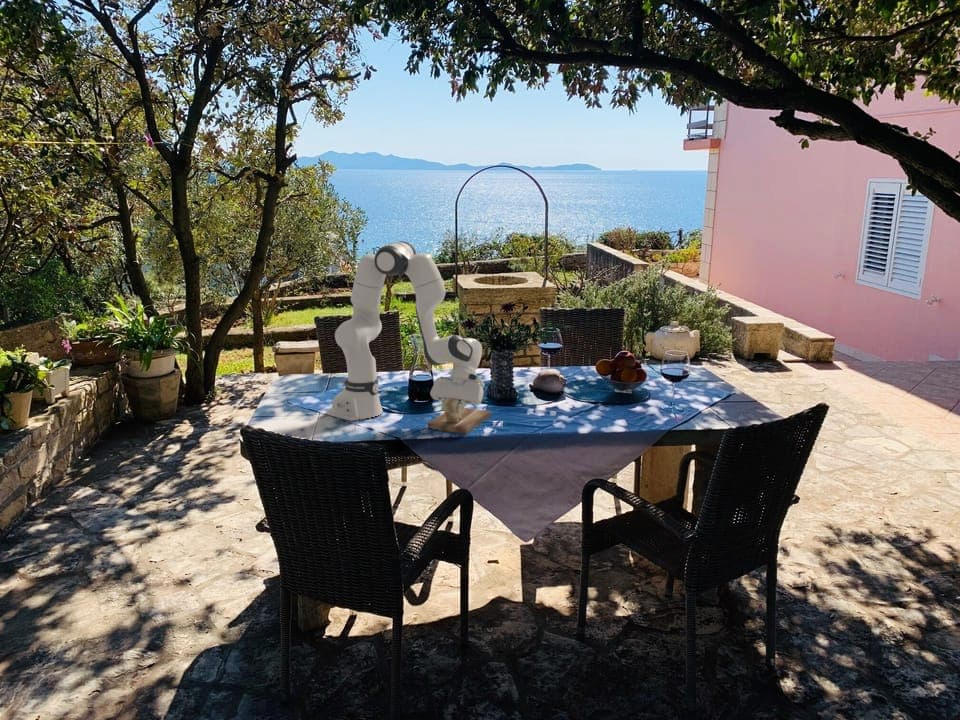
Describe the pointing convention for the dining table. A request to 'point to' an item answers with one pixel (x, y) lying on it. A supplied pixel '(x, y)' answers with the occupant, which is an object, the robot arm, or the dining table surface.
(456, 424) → the board
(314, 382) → the dining table surface
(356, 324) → the robot arm
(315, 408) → the dining table surface
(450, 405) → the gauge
